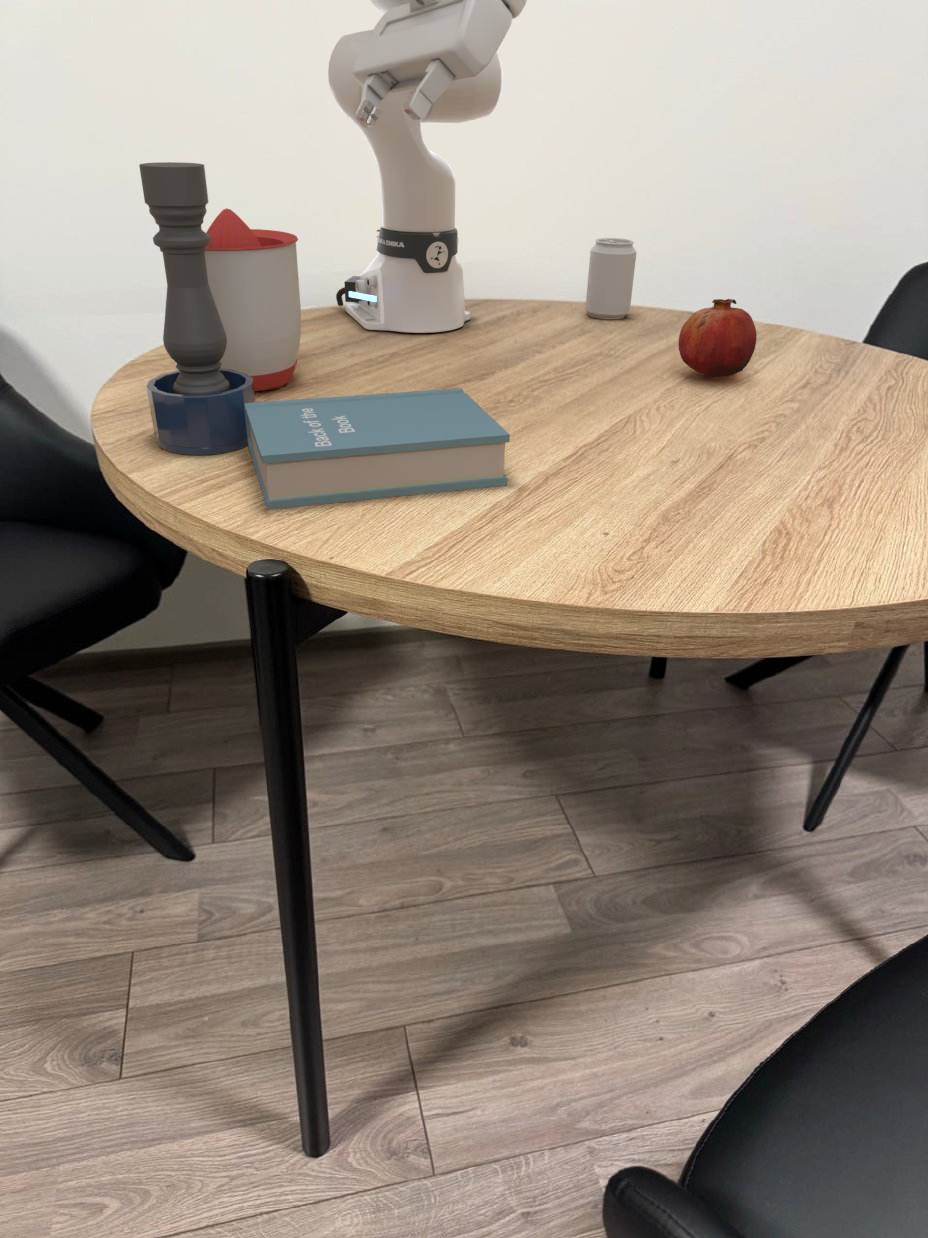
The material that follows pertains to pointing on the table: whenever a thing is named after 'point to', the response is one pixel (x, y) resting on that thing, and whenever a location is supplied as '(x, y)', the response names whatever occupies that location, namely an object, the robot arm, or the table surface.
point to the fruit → (718, 340)
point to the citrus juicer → (255, 298)
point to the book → (373, 447)
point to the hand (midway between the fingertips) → (386, 118)
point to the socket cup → (200, 415)
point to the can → (610, 278)
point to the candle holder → (186, 275)
